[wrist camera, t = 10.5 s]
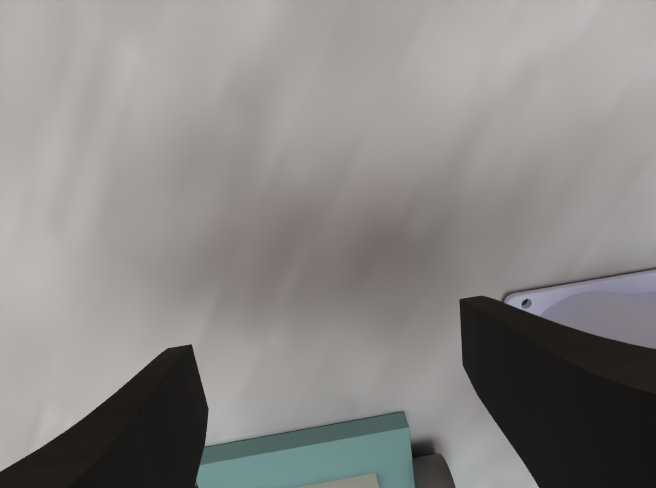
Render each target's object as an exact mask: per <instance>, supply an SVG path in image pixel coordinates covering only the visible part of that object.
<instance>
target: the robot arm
mask: <svg viewBox="0 0 656 488" xmlns="http://www.w3.org/2000/svg"><path fill="white" fill-rule="evenodd" d="M525 299H528V301H527V303H526V304H524V305H521V304H522V302H523V301H524V300H525ZM460 318H461V339H462V360H463V366H464V369H465V371H466V373H467V375H468V377H469V379H470V381H471V383H472V385H473V387H474V389H475V391H476V393H477V395H478V396H479V398H480V399H481V401H482V403H483V404H484V405H485V407H486V408H487V410H488V411H489V413H490V414H491V416H492V417H493V419H494V420H495V422H496V423H497V425H498V426H499V427H500V429H501V430H502V432H503V433H504V435H505V436H506V438H507V439H508V440H509V442H510V443H511V445H512V446H513V448H514V449H515V451H516V452H517V453H518V455H519V456H520V458H521V459H522V461H523V462H524V464H525V465H526V467H527V468H528V470H529V472H530V473H531V475H532V476H533V478H534V479H535V481H536V483H537V485H538V487H539V488H656V269H655V270H649V271H643V272H637V273H631V274H625V275H619V276H613V277H607V278H601V279H596V280H590V281H584V282H578V283H572V284H566V285H560V286H554V287H548V288H542V289H536V290H530V291H524V292H518V293H513V294H510V295H509V296H507V297H506V299H505V300H504V303H503V302H501V301H498V300H495V299H492V298H489V297H485V296H476V297H470V298H464V299H460ZM208 410H209V409H208V406H207V402H206V398H205V394H204V390H203V386H202V383H201V379H200V375H199V371H198V367H197V363H196V360H195V356H194V352H193V348H192V344H191V345H185V346H179V347H173V348H168V349H166V350H165V351H164V352H162V353H161V354H160V355H159V356H157V357H156V358H155V359H154V360H153V361H151V362H150V363H149V364H148V365H147V366H146V367H145V368H143V369H142V370H141V371H140V372H139V373H138V374H137V375H135V376H134V377H133V378H132V379H131V380H130V381H129V382H127V383H126V384H125V385H124V386H123V387H122V388H121V389H119V390H118V391H117V392H116V393H115V394H113V395H112V396H111V397H110V398H108V399H107V400H106V401H105V402H103V403H102V404H101V405H100V406H98V407H97V408H96V409H95V410H93V411H92V412H91V413H90V414H88V415H87V416H86V417H85V418H83V419H82V420H81V421H79V422H78V423H76V424H75V425H74V426H72V427H71V428H70V429H68V430H67V431H65V432H64V433H62V434H61V435H59V436H58V437H56V438H55V439H53V440H52V441H50V442H49V443H47V444H46V445H44V446H43V447H41V448H40V449H38V450H36V451H35V452H33V453H31V454H30V455H28V456H26V457H25V458H23V459H21V460H19V461H18V462H16V463H14V464H13V465H11V466H9V467H8V468H6V469H4V470H3V471H1V472H0V488H194V486H195V482H196V478H197V475H198V471H199V466H200V462H201V458H202V454H203V450H204V446H205V439H206V430H207V420H208Z"/></svg>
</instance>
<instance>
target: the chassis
mask: <svg viewBox="0 0 656 488" xmlns="http://www.w3.org/2000/svg"><path fill="white" fill-rule="evenodd" d="M196 481H197V485H198V488H455V484H454V481H453V478H452V475H451V473H450V470H449V468H448V465H447V463H446V461H445V459H444V457H443V456H442V455H441V454H440V453H437V454H432V455H426V456H421V457H415V458H412V452H411V442H410V432H409V426H408V423H407V421H406V418H405V415H404V413H403V412H399V413H394V414H388V415H383V416H377V417H372V418H366V419H360V420H355V421H349V422H344V423H338V424H333V425H327V426H322V427H316V428H310V429H305V430H299V431H294V432H288V433H283V434H277V435H271V436H266V437H260V438H255V439H249V440H244V441H238V442H233V443H227V444H221V445H216V446H210V447H205V448H204V450H203V454H202V458H201V462H200V466H199V471H198V475H197V478H196Z"/></svg>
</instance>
